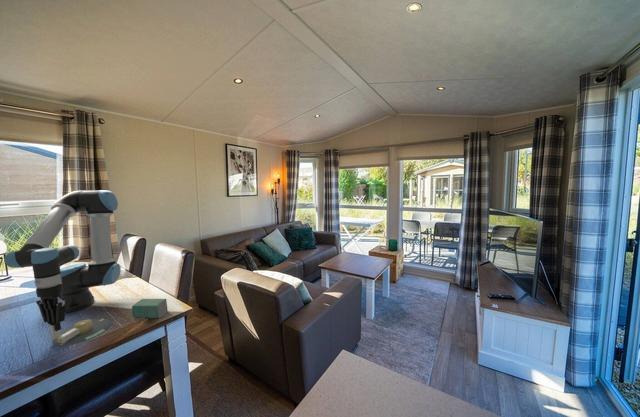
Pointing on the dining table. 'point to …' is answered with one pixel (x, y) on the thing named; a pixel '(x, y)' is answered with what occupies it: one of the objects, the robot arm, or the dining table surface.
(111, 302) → the dining table surface
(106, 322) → the plate
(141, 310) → the box
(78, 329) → the round-headed handle
